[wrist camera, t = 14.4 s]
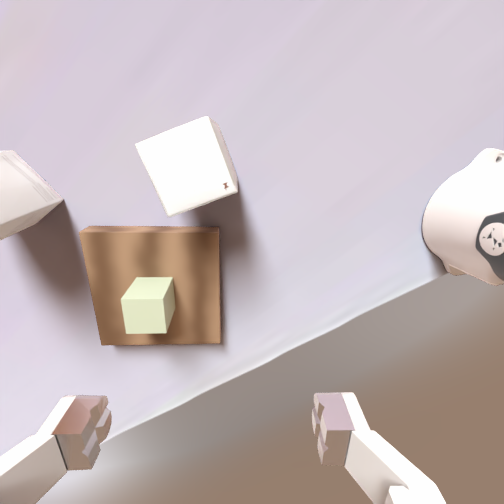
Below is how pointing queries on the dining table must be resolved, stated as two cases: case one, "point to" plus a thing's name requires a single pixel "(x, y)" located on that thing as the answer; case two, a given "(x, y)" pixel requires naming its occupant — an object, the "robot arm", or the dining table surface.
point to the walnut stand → (155, 265)
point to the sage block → (148, 305)
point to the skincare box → (22, 195)
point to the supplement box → (189, 165)
